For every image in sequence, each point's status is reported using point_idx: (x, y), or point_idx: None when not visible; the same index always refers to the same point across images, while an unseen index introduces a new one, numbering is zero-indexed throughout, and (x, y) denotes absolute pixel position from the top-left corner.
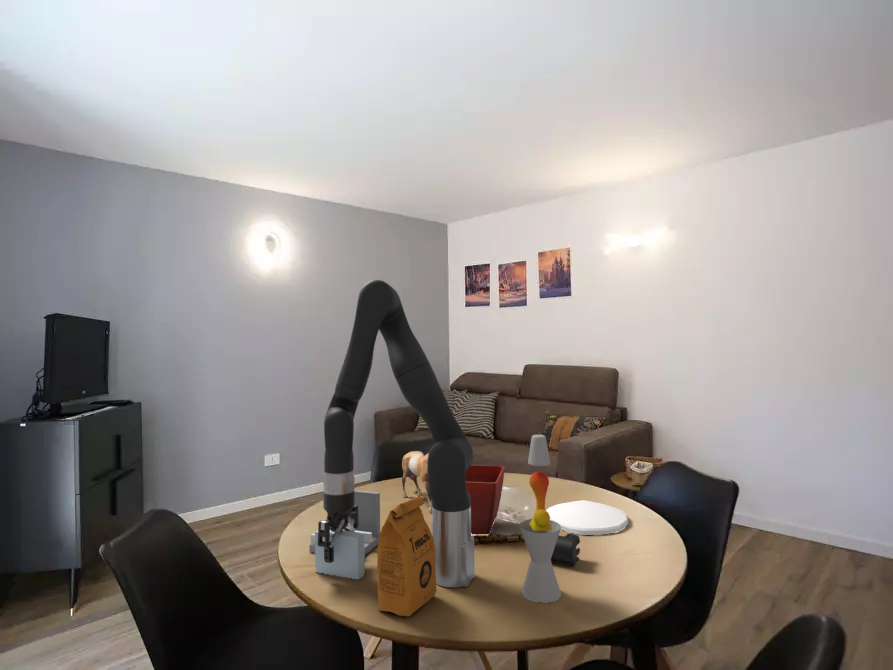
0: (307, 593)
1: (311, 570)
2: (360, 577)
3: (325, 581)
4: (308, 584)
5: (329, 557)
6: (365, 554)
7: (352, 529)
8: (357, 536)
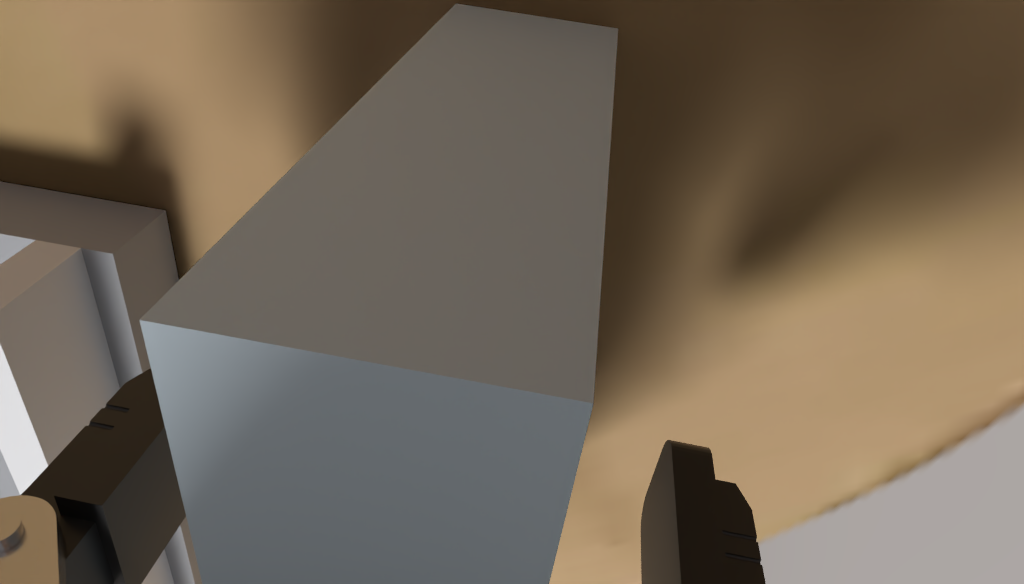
0: (953, 422)
1: None
2: (567, 21)
3: (694, 356)
4: (764, 461)
5: (741, 529)
6: (18, 185)
7: (8, 580)
8: (481, 440)
